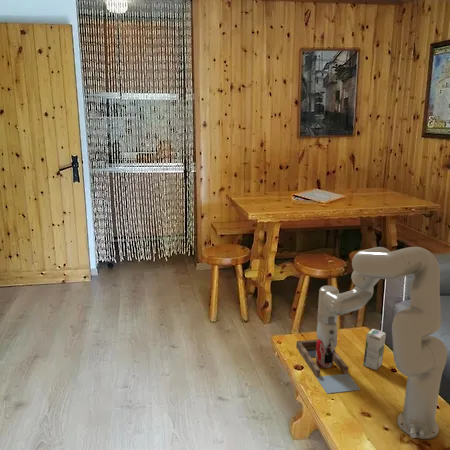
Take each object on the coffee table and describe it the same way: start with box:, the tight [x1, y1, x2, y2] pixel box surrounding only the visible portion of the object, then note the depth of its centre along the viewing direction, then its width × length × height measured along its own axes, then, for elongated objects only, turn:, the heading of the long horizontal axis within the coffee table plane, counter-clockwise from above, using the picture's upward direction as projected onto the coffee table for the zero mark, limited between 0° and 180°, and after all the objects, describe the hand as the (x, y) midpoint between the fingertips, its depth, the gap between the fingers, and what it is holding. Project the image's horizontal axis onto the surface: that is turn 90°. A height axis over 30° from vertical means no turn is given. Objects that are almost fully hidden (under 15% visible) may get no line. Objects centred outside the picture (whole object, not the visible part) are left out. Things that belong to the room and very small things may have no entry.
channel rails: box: [295, 338, 349, 378], centre depth 190 cm, size 23×13×3 cm, turn 11°
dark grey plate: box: [306, 348, 316, 359], centre depth 196 cm, size 7×10×1 cm
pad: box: [315, 373, 361, 395], centre depth 174 cm, size 10×13×1 cm
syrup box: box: [362, 328, 387, 371], centre depth 185 cm, size 6×6×14 cm
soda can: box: [315, 338, 334, 369], centre depth 185 cm, size 7×7×12 cm
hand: (324, 357), depth 186 cm, fingers closed on soda can, 6 cm apart
